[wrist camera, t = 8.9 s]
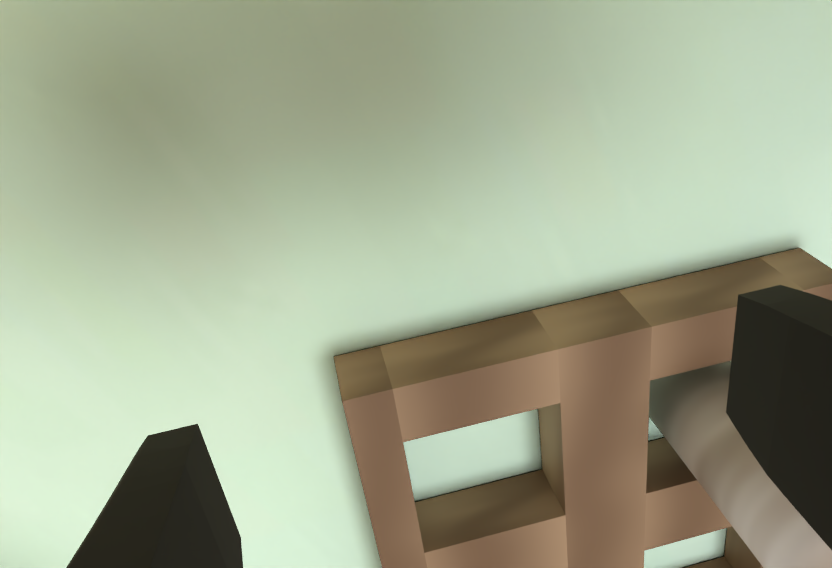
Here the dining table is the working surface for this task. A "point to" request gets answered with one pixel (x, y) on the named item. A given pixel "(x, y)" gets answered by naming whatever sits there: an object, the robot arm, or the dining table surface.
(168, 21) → the dining table surface
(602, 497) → the wooden grid tray
